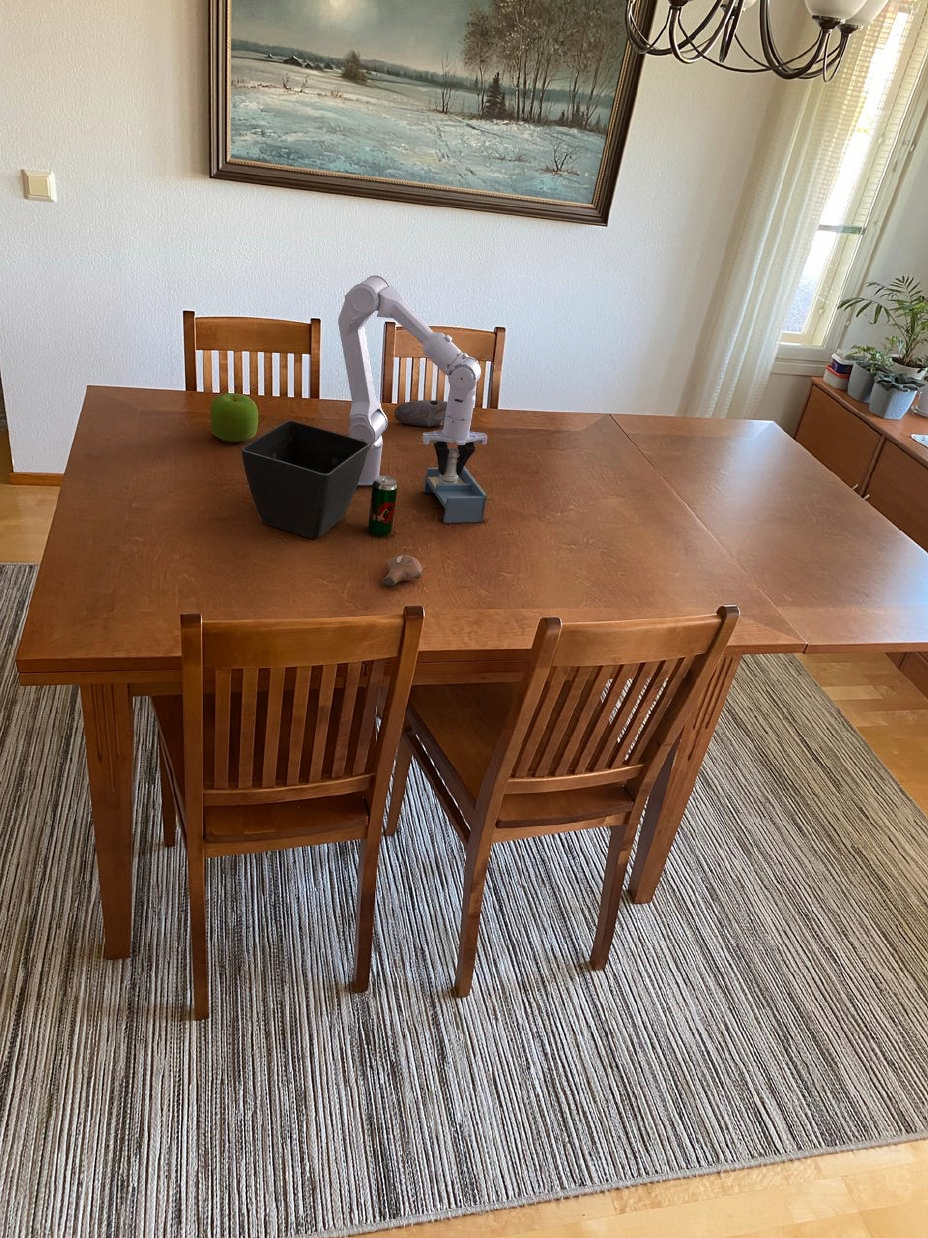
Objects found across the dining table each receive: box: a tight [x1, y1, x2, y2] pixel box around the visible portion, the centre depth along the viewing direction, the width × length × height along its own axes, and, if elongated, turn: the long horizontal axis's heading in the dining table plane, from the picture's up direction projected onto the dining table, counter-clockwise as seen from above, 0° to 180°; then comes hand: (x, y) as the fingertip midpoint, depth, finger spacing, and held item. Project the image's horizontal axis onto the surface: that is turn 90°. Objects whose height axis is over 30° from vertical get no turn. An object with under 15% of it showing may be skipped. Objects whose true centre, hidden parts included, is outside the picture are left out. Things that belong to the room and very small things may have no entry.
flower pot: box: [241, 420, 369, 540], centre depth 180 cm, size 19×19×17 cm
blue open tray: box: [423, 465, 488, 524], centre depth 199 cm, size 9×15×6 cm, turn 20°
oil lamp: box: [381, 554, 423, 587], centre depth 171 cm, size 9×4×8 cm
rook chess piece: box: [439, 446, 460, 484], centre depth 199 cm, size 4×4×8 cm
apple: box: [209, 392, 259, 444], centre depth 210 cm, size 11×11×11 cm
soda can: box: [367, 475, 398, 538], centre depth 182 cm, size 5×5×12 cm
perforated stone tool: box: [393, 399, 447, 428], centre depth 236 cm, size 15×5×7 cm, turn 101°
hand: (449, 472), depth 200 cm, fingers closed on rook chess piece, 3 cm apart
